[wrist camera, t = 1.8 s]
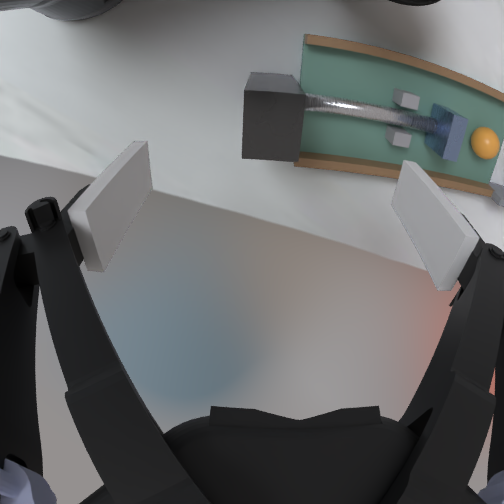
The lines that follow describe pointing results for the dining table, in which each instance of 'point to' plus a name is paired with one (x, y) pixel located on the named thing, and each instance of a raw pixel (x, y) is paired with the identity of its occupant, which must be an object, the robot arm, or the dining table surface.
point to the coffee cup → (415, 2)
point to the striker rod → (297, 101)
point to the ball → (485, 143)
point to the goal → (498, 193)
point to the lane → (396, 96)
